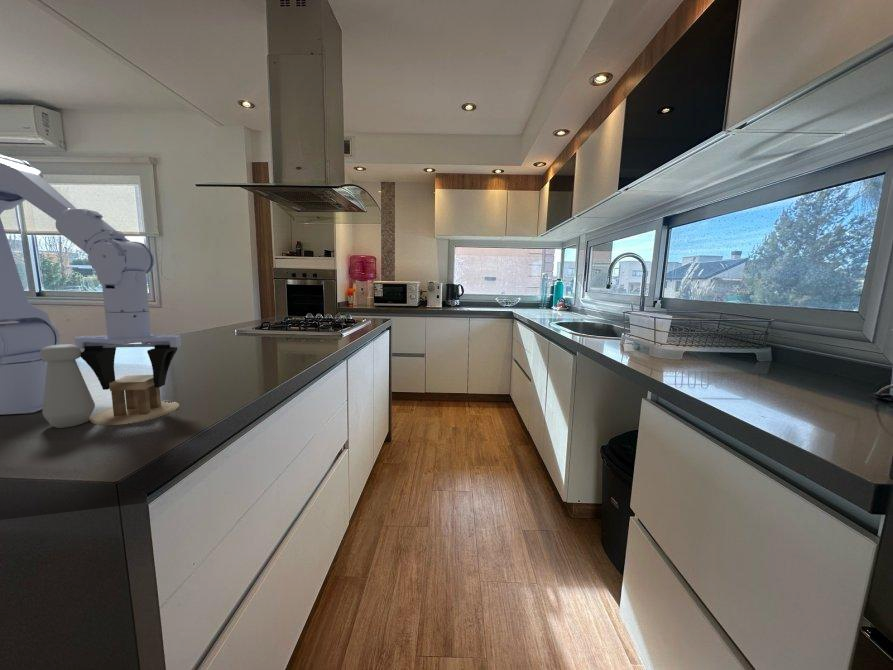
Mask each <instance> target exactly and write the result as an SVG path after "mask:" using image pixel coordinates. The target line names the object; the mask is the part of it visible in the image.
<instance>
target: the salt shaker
mask: <svg viewBox="0 0 893 670" xmlns="http://www.w3.org/2000/svg"><path fill="white" fill-rule="evenodd" d="M81 352H82V350H81V349H80V348H79V347H78V346H76V345H75V344H70V343H65V344H62V343H61V344H59V345H52V346H47V347H44V348H43V349H42V350H41V351H40V356H41V359H42V361H46V362H47V372H46V382H45V391H44V401H43V409H42V410H41V413H42V416H43V418H44V419H45V420H46V422H48V424H50V426H51V427H53V428H57V429H62V428H63V429H64V428H69V427H77V426H80V425H82V424H84V423H88V422H89V421H90V418H91V417H92V416H91V415H92V414H93V411H94V410H95V408H96V403H95V401H94V399H93V397H92V394H91V392H90V390H89V387H88V385H87V383H86V380H85V379H84V377H83V374H82V372H81V370H80V367H79V365H78V363H77V359H80V358H81V357H80V356H81Z"/></svg>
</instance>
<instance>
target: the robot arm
mask: <svg viewBox="0 0 893 670" xmlns="http://www.w3.org/2000/svg"><path fill="white" fill-rule="evenodd" d="M24 201H27V202H28V203H29V204H31V205H33V206H34V207H35V208H37V209H38V210H40V211H41V212H43V213H45V214H46V215H47V216H48V217H50V218H51V219H53V220H54V221H55V229H56V230H57V232H58V233H59V234H61V236H64V238H66V239H67V240H68V241H70V242H71V243H73V244H74V245H75V246H76V247H78V248H79V249H80V250H82V251H83V252H84V253H85V254H87V260H88V263H89V265H90V266H91V268H92V269H93V270H94V271H95V273H96V277H97V278H96V279H97V281H98V282H99V284H101V287H102V288H101V289H102V295H103V296H102V297H103V306H104V316H105V318H104V319H105V326H106V327H105V328H106V334H105V335H81V336H75V337H74V345H76V346H78V347H79V348H80V350H81V349H82V350H83V351H81V356H80V357H79V358H81V359H82V360H83V361H84V362H85V363H86V364H87V365H88V367H90V368H91V370H92V371H93V373H94V374H95V376H96V377H97V379H98V381H99V383H100V386H101V389H102V390H103V391H104V390H105V391H107V390H110V386H109V383H110V382H113V381H115V380H116V374H115V359H116V351H117V348H151V349H148V350H147V351H146V353H147V355H148V358H149V360H150V364H151V367H152V375H153V380H154V386H155V388H157V387H160V388H162V387H163V386H165V385H166V381H167V376H168V372H169V369H170V368H169V367H170V365H171V363H172V360H173V358H174V356H175V354H176V352H177V351H178V348H179V347H181V346H182V336H181V335H180V334H178V335H177V334H176V335H174V334H152V327H151V316H150V304H149V303H150V302H149V293H148V292H149V291H148V282H147V281H148V280H147V279H148V278H147V274H149V273H150V272H151V271H152V270H153V268H154V264H155V263H154V262H155V259H154V255H153V253H152V251H151V250H150V248H148V246H146V244H145V243H143V242H139V241H131V240H129V239H127V238H126V235H125V234H124V233H123V232H122V231H119V230H116V229H115V228H114V227H112V226H111V225H110V224H109V223H107V222H106V221H105V220H103V219H102V218H103V214H101V213H100V212H98V211H97V210H96V211H95V210H92V209H88V208H82V207H81V208H77V207H75V206H74V204H72V203H71V202H70V201H69V200H68V199H67V198H66V197H64V196H63V195H62V194H61V193H60V192H58V190H56V188H54V187H53V186H52V185H51V184H50V183H48V182H47V181H46V180H45V179H44V175H43V172H42V171H41V170H39V169H37V168H35V167H34V166H33V165H32V164H30V163H29V162H27V161H26V160H23V159H18V158H12V157H9V156H6V155H3V154H0V215H1V214H3V212H4V211H8V210H13V209H14V208H16V207H17V206H19V205H21V204H22V203H23V202H24ZM19 273H20V272H19V271H18V267H17V264H16V261H15V258H14V255H13V253H12V249H11V246H10V242H9V240H8V236H7V233H6V231H5V228H4V224H3V221H2V218H1V217H0V415H17V414H18V415H19V414H20V415H21V414H32V413H36V412H40V411H43V401H44V391H45V382H46V372H47V362H46V361H42V359H41V356H40V351H41V350H42V349H43V348H44V347H47V346H52V345H60V343H61V342H60V341H61V335H60V333H59V330H58V329H57V327H56V326H55V325H54V324H53V322H51V320H50V317H49V314H48V312H46V311H44V310H43V309H40V308H39V307H36V306H34V305H32V304H31V303H29V301H28V298H27V294H26V291H25V289H24V285H23V283H22V280H21V276H20V274H19ZM6 322H7V323H6ZM9 322H10V323H9Z"/></svg>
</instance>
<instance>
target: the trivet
mask: <svg viewBox="0 0 893 670" xmlns="http://www.w3.org/2000/svg"><path fill="white" fill-rule="evenodd" d="M164 401H165V400H163V401H161V406H159V407H158V408H150V410H151V412H150V413H148V414H146V415H139V412H138V407H137V408H135V409H127V407H126V414H125V415H123V416H114V413H113V407H110V408H107V409H104V410H101V411H99V412H96V413H95V414H93V415H92V416H90V418H89V422H90V423H91V422H92V424H95V425H98V424H99V426H116V425H118V426H119V425H126V424H127V425H128V423H129V424H135V423H140V421H141V422H145V420H146V421H150V420H154V419H158V418H161V417H163V415H164V416H166V414H167V415H169V414H171V413H173V412H175V411H177V410H178V409H179V408H178V407H180V404H179V403H178V402H176V401H174V402H172V403H171V402H170V403H168V402H166V403H165V402H164ZM177 408H178V409H177ZM176 409H177V410H176ZM168 413H169V414H168ZM160 416H161V417H160ZM157 417H158V418H157ZM149 419H150V420H149ZM134 422H135V423H134Z"/></svg>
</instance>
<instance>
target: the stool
mask: <svg viewBox="0 0 893 670" xmlns="http://www.w3.org/2000/svg"><path fill="white" fill-rule="evenodd" d="M109 386H110V389H109V391H110V393H111V400H112V401H111V403H112V408H113V413H114V416H123V415H125V414H126V407H127V409H135V408H137V407H138V412H139V415H146V414H148V413H150V412H151V410H150V408H158V407H159V406H161V387H157V388H155V386H154V380H153V374H138V375H135V374H134V375H133V374H132V375H125V376H123V377H119V378H118V379H115V381H113V382H110V383H109Z"/></svg>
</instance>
